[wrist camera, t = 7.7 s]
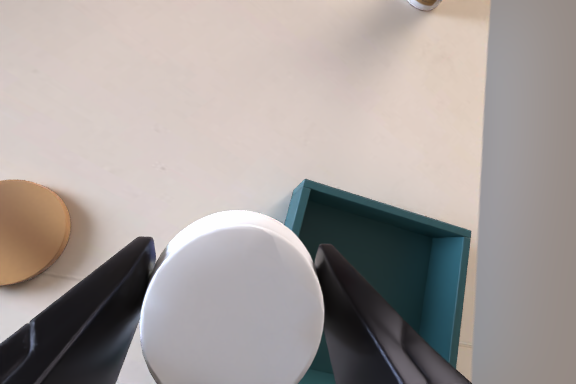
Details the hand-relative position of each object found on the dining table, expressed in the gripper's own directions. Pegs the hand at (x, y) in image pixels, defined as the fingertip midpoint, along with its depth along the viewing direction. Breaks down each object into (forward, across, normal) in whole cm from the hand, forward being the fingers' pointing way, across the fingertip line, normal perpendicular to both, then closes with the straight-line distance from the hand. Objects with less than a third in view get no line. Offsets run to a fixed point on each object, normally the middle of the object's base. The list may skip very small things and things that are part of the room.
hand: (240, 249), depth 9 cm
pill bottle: (+4, 0, +6) cm, 7 cm away
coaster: (+10, +15, +8) cm, 20 cm away
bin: (+7, -9, +11) cm, 16 cm away
